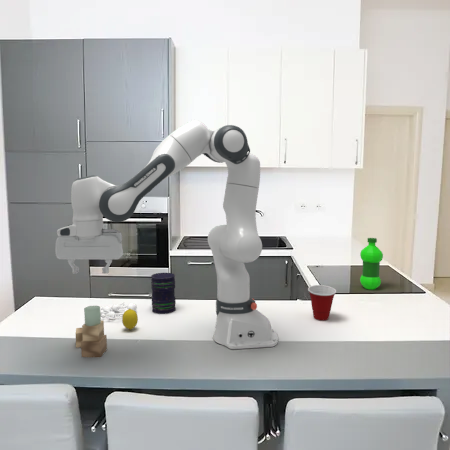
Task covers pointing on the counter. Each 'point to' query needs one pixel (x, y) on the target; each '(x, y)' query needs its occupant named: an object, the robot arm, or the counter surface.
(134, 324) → the lemon
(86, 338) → the tower block top
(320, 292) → the plastic cup
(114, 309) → the tangled rod sculpture
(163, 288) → the storage jar
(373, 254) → the plastic bottle
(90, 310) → the sage green cylinder
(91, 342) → the tower block base
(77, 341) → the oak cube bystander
